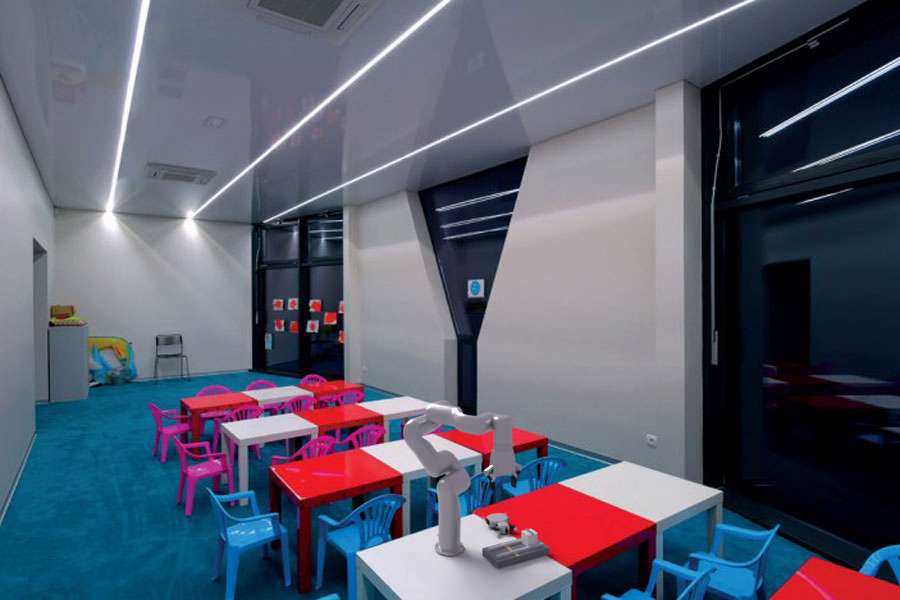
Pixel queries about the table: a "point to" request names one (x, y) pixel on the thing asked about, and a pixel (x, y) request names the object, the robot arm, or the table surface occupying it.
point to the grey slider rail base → (513, 553)
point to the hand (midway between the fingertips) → (503, 488)
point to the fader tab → (529, 537)
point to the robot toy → (499, 523)
